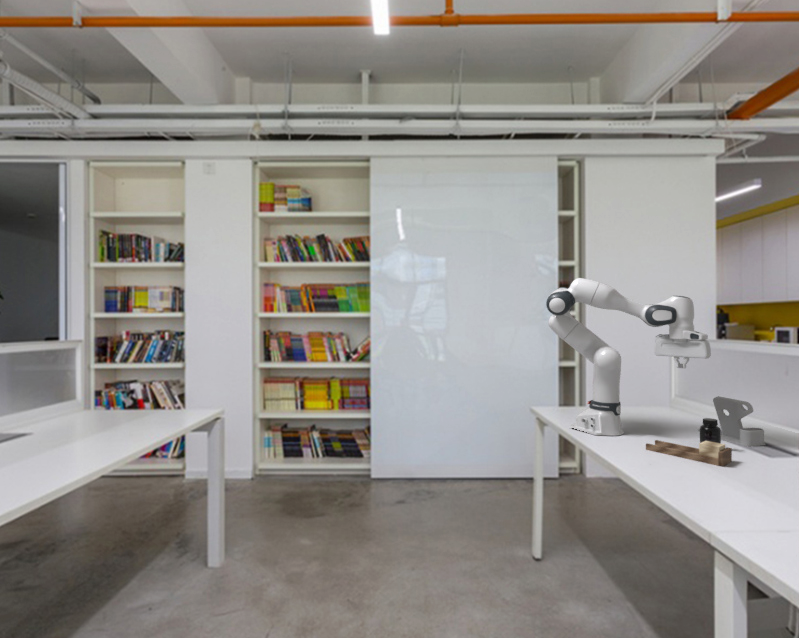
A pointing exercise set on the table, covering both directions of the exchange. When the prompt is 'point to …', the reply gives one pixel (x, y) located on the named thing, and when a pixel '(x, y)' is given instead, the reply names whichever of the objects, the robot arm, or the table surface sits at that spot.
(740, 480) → the table surface
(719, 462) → the walnut chute
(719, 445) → the maple block
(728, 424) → the phone holder
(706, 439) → the supplement bottle
